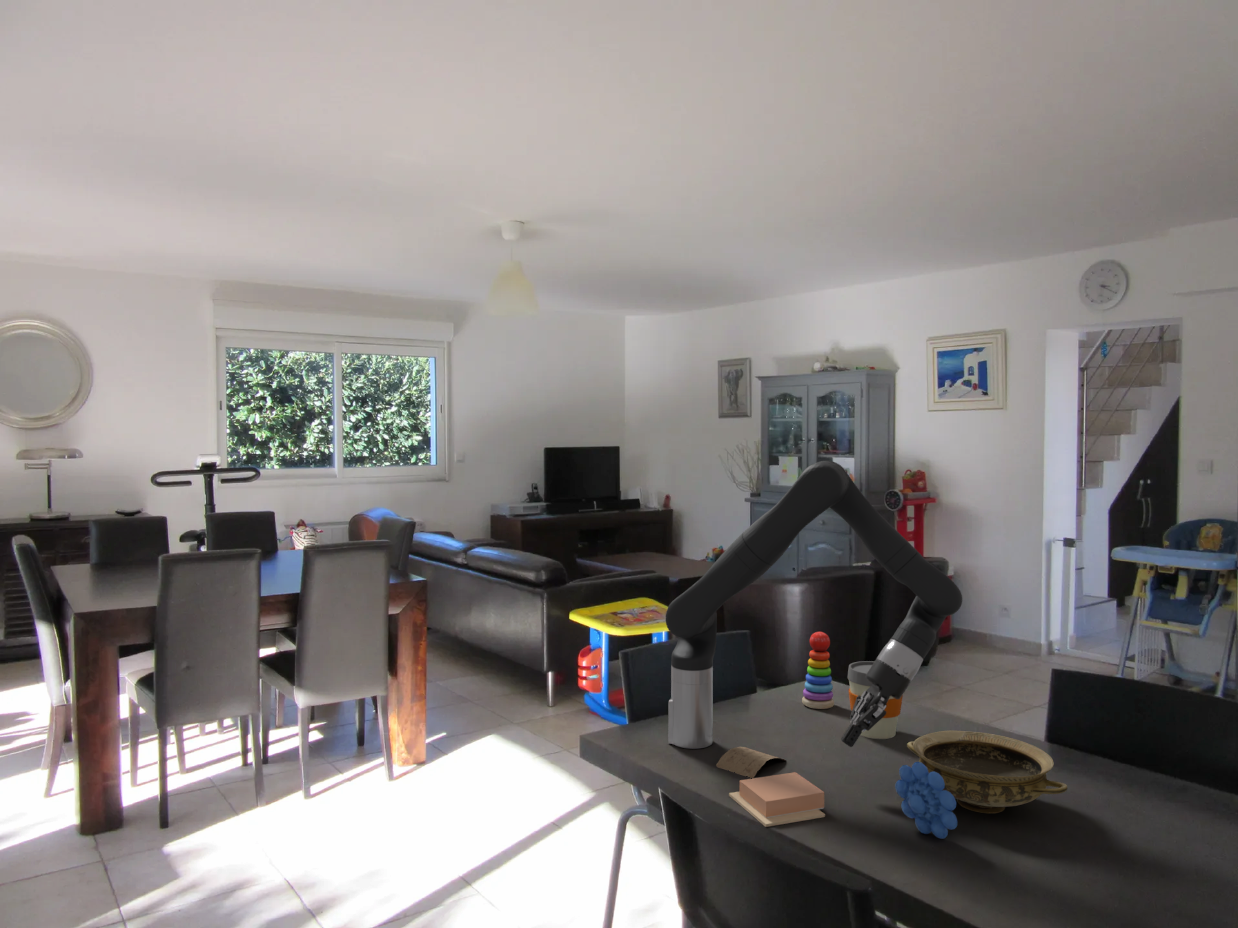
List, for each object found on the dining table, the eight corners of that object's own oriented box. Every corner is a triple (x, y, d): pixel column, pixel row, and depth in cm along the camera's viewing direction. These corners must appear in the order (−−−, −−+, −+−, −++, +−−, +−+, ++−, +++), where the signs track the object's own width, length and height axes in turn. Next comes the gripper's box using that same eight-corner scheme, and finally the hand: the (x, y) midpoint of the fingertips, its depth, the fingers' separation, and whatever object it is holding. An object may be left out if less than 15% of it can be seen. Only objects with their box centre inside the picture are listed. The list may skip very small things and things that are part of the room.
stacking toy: (828, 711, 212) (829, 637, 212) (797, 706, 216) (798, 633, 216) (838, 703, 219) (838, 630, 218) (807, 698, 223) (808, 627, 222)
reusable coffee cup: (858, 719, 206) (858, 658, 206) (910, 730, 199) (911, 666, 198) (838, 734, 196) (839, 669, 195) (893, 745, 188) (894, 678, 188)
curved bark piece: (752, 782, 169) (752, 769, 169) (710, 770, 176) (710, 756, 176) (790, 762, 180) (790, 749, 180) (749, 751, 187) (749, 738, 187)
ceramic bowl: (1094, 814, 154) (1095, 759, 153) (1030, 854, 139) (1031, 793, 139) (941, 764, 177) (941, 717, 177) (872, 794, 162) (873, 742, 162)
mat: (784, 786, 166) (784, 784, 166) (824, 816, 153) (824, 813, 153) (729, 795, 162) (729, 792, 162) (765, 826, 149) (765, 824, 149)
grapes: (880, 828, 148) (881, 759, 148) (903, 817, 152) (904, 751, 152) (941, 853, 139) (942, 781, 139) (964, 842, 143) (965, 771, 143)
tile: (795, 771, 164) (739, 780, 160) (824, 791, 155) (765, 801, 151) (795, 787, 164) (739, 796, 160) (824, 808, 155) (765, 818, 151)
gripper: (868, 653, 173) (821, 726, 171) (888, 660, 160) (837, 739, 158) (900, 675, 172) (853, 748, 171) (922, 684, 159) (872, 763, 157)
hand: (846, 743), depth 164 cm, fingers closed
